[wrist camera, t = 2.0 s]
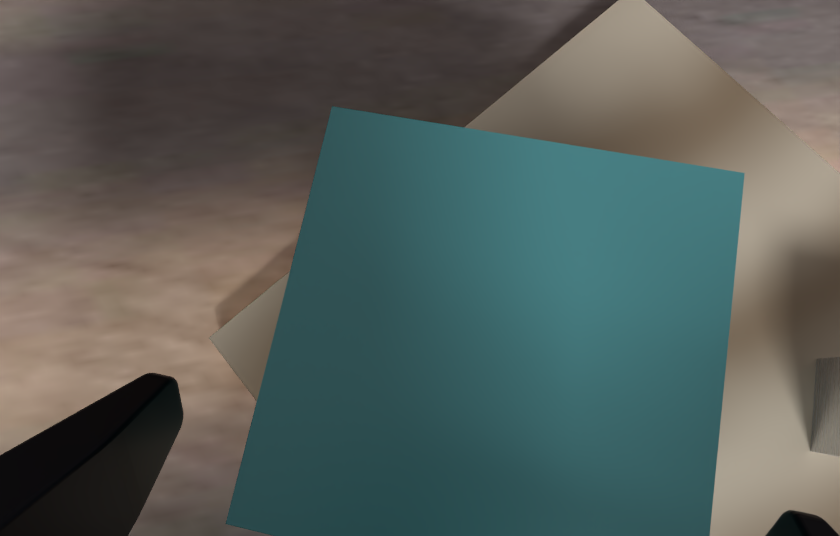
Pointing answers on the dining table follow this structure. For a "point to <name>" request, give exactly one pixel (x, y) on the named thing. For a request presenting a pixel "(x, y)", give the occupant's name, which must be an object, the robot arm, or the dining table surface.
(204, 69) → the dining table surface
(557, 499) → the upright teal box
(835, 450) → the block
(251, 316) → the thin wavy beige sheet
